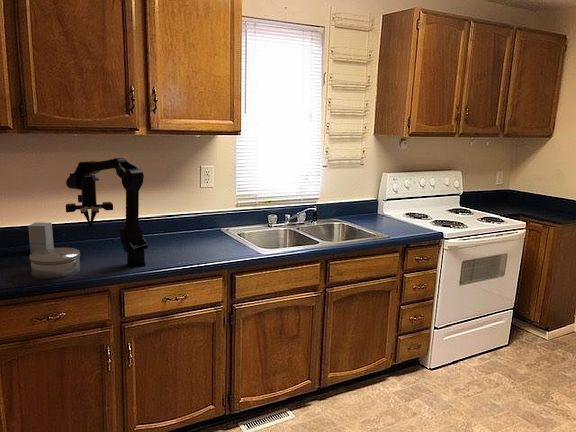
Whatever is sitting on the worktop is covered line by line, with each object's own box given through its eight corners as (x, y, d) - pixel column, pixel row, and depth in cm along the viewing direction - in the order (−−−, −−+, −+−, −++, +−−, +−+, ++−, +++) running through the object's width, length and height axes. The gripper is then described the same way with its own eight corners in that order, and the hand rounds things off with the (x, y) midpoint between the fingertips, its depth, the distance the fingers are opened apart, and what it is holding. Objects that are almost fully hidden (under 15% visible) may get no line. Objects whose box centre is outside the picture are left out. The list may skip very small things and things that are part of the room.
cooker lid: (79, 248, 196) (79, 246, 196) (80, 260, 181) (80, 257, 181) (30, 252, 189) (30, 249, 189) (28, 264, 173) (27, 262, 173)
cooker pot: (79, 258, 204) (78, 244, 203) (81, 275, 182) (80, 260, 181) (33, 262, 197) (32, 247, 196) (29, 281, 175) (28, 264, 173)
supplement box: (54, 249, 217) (52, 222, 214) (46, 253, 209) (44, 225, 207) (37, 249, 216) (35, 221, 214) (29, 253, 209) (27, 225, 207)
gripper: (110, 187, 214) (111, 221, 217) (64, 188, 206) (66, 224, 209) (112, 191, 204) (114, 226, 207) (64, 192, 197) (66, 229, 200)
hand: (90, 226), depth 206 cm, fingers closed
